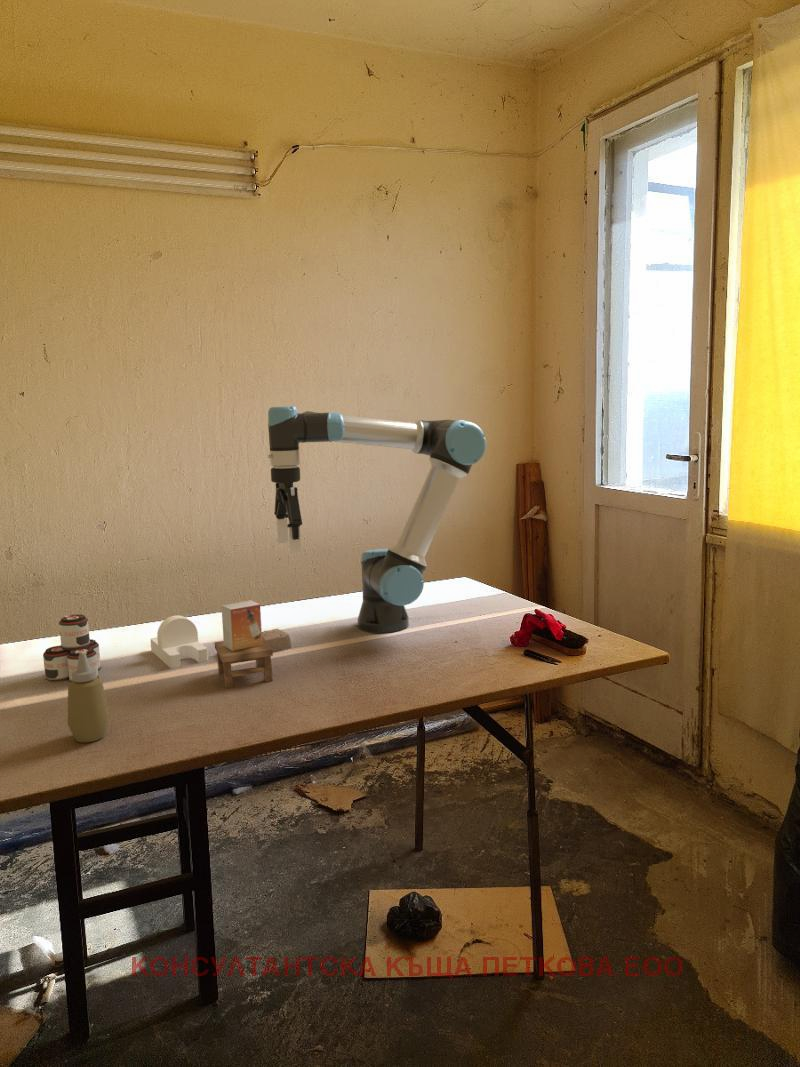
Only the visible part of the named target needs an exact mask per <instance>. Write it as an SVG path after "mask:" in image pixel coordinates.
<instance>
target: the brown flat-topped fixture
mask: <svg viewBox="0 0 800 1067" xmlns="http://www.w3.org/2000/svg"><path fill="white" fill-rule="evenodd" d="M214 649H215V651H216V654H217V655H216V657H217V658H216V660H217V671H218V672H217V673H218V675H219V676H223V679H224V681H223V682H224V687H225V688H226V689H228V688H233V678H235V677H239V676H247V675H253V674H259V673H260V674H261V673H263V678H264V679H263V680H264V682H267V683H269V682H272V681H273V673H272V672H273V671H272V669H273V668H272V656H273V655H274V652H273V650H272V648H271V647H270V646H269V644H268V643H267V642H266V640H265V639H264V638H263V636H262V646H256V647H250V648H245V649H240V650H235V651H232V650H230V649H228V648H227V647H225V646H224V640H222V641H214ZM253 661H255V666H256V667H250V668H243V669H236V670H232V665H233V664H238V663H245V662H246V663H247V662H253Z"/></svg>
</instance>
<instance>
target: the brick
mask: <svg viewBox="0 0 800 1067" xmlns="http://www.w3.org/2000/svg"><path fill="white" fill-rule="evenodd" d="M262 636H263V638H264V639H265V640H266V642H267V643H268V644H269V646H270V647H271V648H272V650H273V653H276V652H280V651H283V650H288V649H291V648H292V643H291V642H292V639H291V637H290V634H289V633H288V632H286V631H284V630H281V629H279V628H273V629H271V630H270V629H269V630H268V629H267V630H264V631H262Z"/></svg>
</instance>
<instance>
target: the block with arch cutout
mask: <svg viewBox="0 0 800 1067" xmlns="http://www.w3.org/2000/svg"><path fill="white" fill-rule="evenodd" d="M149 641H150V648H151V652H152V653H153V654H155V656H156V657H158V659H160V660H161V661H162V662H164V663H165V665H166V666H168V667H169V668H170V669H176V668H181V667H182V665H181V660H183V659H193V660H195V661H196V662H197V663H198V664H202V663H206V662H208V661H209V657H208V648H207V647H206V646H205V645H203V644H202V643H201V642H200V641H199V632H198V629H197V627H196V625H195V623H194V622H193V621H191V620H190V619H189V618H188V617H186V616H184V615H171V616H168V617H167V618H165V619H164V620H163V621H162V622H161V624H160V625H159V626H158V630H157V636H156V637H153V638H152V637H151V638H150V640H149Z"/></svg>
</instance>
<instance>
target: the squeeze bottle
mask: <svg viewBox="0 0 800 1067" xmlns="http://www.w3.org/2000/svg"><path fill="white" fill-rule="evenodd" d="M72 680H73V681H72V682H71V683H70V682H69V683H68V685H67V726H68V728H69V731H71V733H72V736H73V739H74V740H75V741H76V742H79V743H93V742H95V741H98V740H101V739H103V738H104V737H105V736H106V733H107V729H108V725H109V720H110V713H109V708H108V703H107V702H108V701H107V699H106V693H105V689H104V683H103V680H102V679H101V678H97V673H96V669H95V668H92V667H90V665H89V662H88V660H87V657H86V654H85V653H80V654H79V659H78V667H77V670H74V671H73V672H72Z"/></svg>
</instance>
